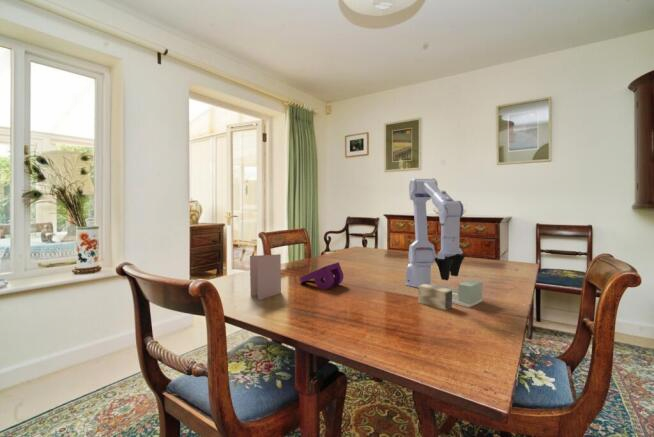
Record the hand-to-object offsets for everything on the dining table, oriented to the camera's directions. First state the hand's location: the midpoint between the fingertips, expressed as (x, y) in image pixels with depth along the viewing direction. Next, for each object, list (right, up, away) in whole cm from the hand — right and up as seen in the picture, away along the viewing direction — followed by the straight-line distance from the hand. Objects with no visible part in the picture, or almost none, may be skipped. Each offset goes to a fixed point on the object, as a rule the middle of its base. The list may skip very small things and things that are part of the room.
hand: (449, 277), depth 106 cm
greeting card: (-63, -9, +12) cm, 65 cm away
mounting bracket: (-44, -9, +28) cm, 53 cm away
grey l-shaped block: (+4, -9, +8) cm, 13 cm away
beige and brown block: (-5, -10, +2) cm, 11 cm away
